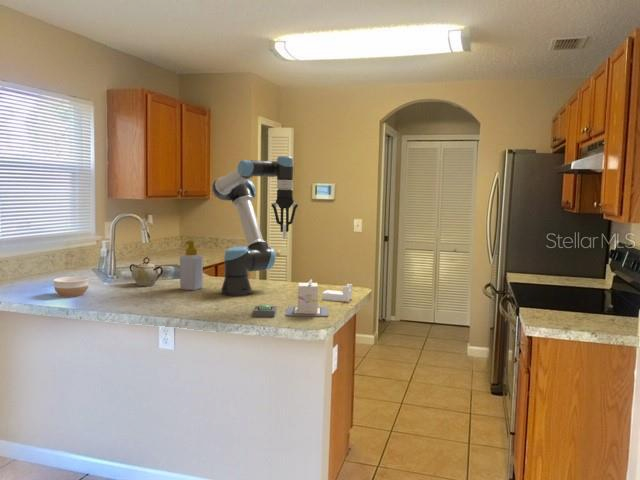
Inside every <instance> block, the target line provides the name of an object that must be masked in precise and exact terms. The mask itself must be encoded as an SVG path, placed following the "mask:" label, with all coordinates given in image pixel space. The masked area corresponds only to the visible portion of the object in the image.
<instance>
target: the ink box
mask: <svg viewBox="0 0 640 480" xmlns="http://www.w3.org/2000/svg"><path fill="white" fill-rule="evenodd" d="M297 287H298V288H297V289H298V290H297V306H298V312H299V313H317V312H318V307H319V306H318V305H319V304H318V303H319V301H318V299H319V298H318V297H319V292H318V290H319V285H318V282H313V278H311V279H309V281H308V282H298V286H297Z"/></svg>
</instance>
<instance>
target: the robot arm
mask: <svg viewBox="0 0 640 480" xmlns="http://www.w3.org/2000/svg"><path fill="white" fill-rule="evenodd" d="M293 158H294V157H292V156H289V155H288V156H282V155H281V156H278V157H277V158H276V160H275V161H274V160H257V159H256V160H253V159H241V160H239V162H238V164H237V168H235V169H233V170H231V171H230V172H228V174H226V175H225V176H219V177H218V178H216V179H215V180H214V181H213V183H212V186H211V191H212V193H213V195H214V196H215V198H217V199H218V200H221V201H229V202H230V201H231V203H232V205H233V207H234V208H236V209H237V213H238V217H239V219H240V224H241V226H242V231H243V234H244V237H245V240H246V243H247V245H246V246H245V245H241V246H239V245H238V246H233V247H230V248H227V249H226V250H225V251H224V280H223V283H222V286H221V291H220V292H221V295H224V296H231V297H239V296H248V295H250V294H252V286H251V283H250V279H249V272H259V271H267V270H268V271H269V270H271V269H272V268H273V267H274V265H275V262H276V252H275V249H274V248H273V247H270V246H269V244H268V242H267V241H265V240H264V238H263V234H262V230H261V228H260V225H259V222H258V221H259V220H258V218H257V215H256V211H255V208H254V205H253V203H254V199H255V197H256V194H257V193H256V188H255V184H254V183H253V182H252V181H251V180H249V179H251V178H253V177H264V178H266V177H268V178H276V188H277V190H276V199H275V202H273V203H271V206H270V207H272V209H273V212H274V215H275V216H274V217H275V221H276V224H278V225H279V226H280V233H282V239H283V240H286V239H287V233H288V232H289V230H290V229H289V227H290V225H292V224H293V221H294V219H295V215H296V210H297V208H298V206H299V204H298V203H296V202H295V201H294V197H293V195H294V191H293V188H294V159H293ZM277 206H278V207H279V208H280V218H279V214H278V210H277ZM291 207H293V208H292V212H291V215H290V214H289V213H290V208H291ZM284 210H285V224H284Z"/></svg>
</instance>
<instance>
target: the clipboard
mask: <svg viewBox="0 0 640 480" xmlns="http://www.w3.org/2000/svg"><path fill="white" fill-rule="evenodd" d="M285 317H302V318H303V317H305V318H306V317H310V318H316V317H317V318H319V317H320V318H329V308H328V306H318V312H317V313H299V312H298V305H296V306H295V305H294V306H291V305H289V306H287V308H286V311H285Z"/></svg>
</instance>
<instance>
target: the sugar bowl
mask: <svg viewBox="0 0 640 480" xmlns="http://www.w3.org/2000/svg"><path fill="white" fill-rule="evenodd" d="M146 260H148V261H146ZM150 261H151V260H150V258H149V257H148V256H147V257H144V258H143V260H142V263H140V264H134V263H132V264H130V266H129V271H130V272H131V277H132V279H133V280H134V282H136V284H137V286H139V287H141V286H142V287H147V286H148V287H149V286H154V285H155V284H156V282H157V281H158V280H159V278H160V276H161V275H162V274H163V273H164V269H163V266H162V265H161V266H160V265H158V266H157V265H156V264H154V263H150Z"/></svg>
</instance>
